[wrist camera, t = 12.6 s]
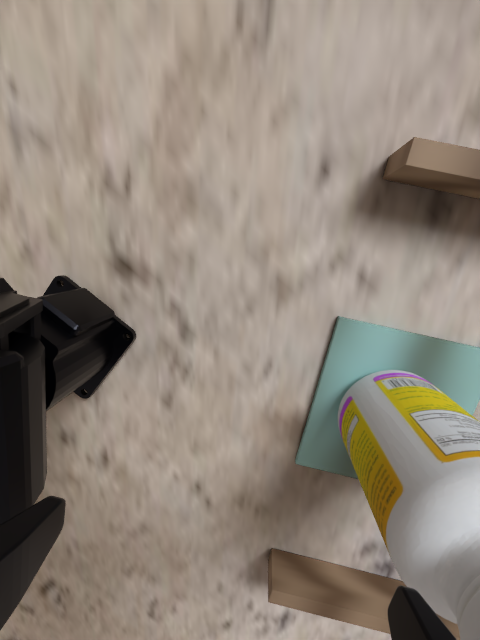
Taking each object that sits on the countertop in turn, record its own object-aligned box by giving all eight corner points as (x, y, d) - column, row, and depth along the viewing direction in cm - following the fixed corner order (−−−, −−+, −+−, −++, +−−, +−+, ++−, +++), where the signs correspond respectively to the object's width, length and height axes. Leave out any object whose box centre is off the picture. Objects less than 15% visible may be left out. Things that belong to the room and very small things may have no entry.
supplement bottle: (371, 472, 21) (522, 795, 9) (315, 403, 20) (392, 649, 8) (460, 422, 20) (794, 722, 7) (403, 345, 19) (669, 534, 6)
